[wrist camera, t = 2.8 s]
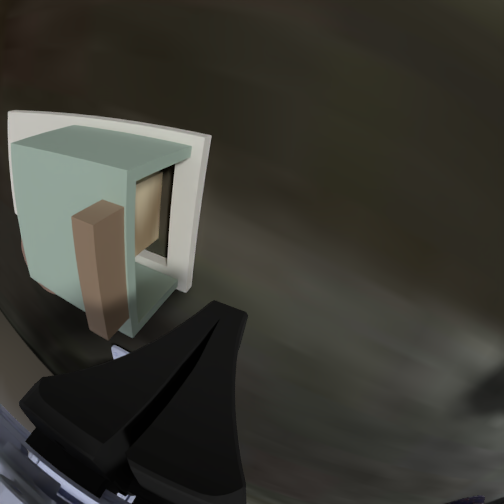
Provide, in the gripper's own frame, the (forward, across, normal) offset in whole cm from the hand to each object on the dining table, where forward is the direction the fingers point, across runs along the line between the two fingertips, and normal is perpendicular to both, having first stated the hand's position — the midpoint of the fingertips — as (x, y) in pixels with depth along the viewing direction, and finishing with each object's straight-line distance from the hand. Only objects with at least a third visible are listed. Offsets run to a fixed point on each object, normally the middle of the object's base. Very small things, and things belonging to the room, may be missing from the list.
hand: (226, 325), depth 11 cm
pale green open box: (+6, +10, 0) cm, 11 cm away
